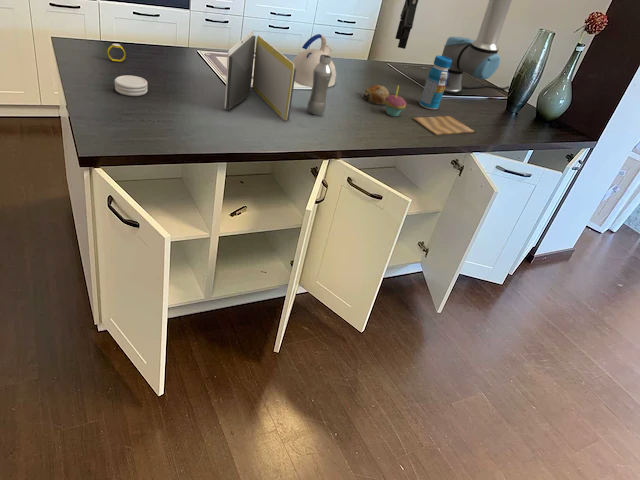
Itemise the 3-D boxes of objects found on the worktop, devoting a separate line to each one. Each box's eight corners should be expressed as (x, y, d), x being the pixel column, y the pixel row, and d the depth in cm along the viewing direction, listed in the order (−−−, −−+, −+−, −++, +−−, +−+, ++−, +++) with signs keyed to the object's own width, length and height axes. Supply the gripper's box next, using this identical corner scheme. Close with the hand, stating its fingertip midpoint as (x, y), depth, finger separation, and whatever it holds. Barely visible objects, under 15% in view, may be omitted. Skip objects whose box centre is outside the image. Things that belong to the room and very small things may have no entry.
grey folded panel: (296, 121, 161) (305, 63, 149) (235, 124, 150) (240, 61, 139) (255, 83, 184) (260, 30, 172) (200, 83, 173) (202, 27, 162)
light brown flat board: (449, 117, 194) (450, 116, 193) (473, 132, 185) (474, 130, 184) (412, 119, 184) (412, 117, 184) (435, 135, 175) (436, 133, 174)
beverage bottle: (417, 106, 198) (432, 57, 186) (420, 100, 204) (435, 53, 193) (436, 112, 196) (453, 63, 185) (439, 106, 203) (455, 58, 191)
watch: (108, 62, 174) (107, 45, 170) (107, 59, 176) (106, 42, 172) (126, 62, 176) (125, 46, 173) (125, 60, 178) (124, 43, 175)
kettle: (344, 82, 205) (353, 39, 195) (318, 91, 190) (327, 44, 179) (305, 67, 212) (312, 25, 202) (278, 75, 197) (284, 29, 186)
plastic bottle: (326, 112, 173) (337, 56, 161) (320, 118, 167) (331, 61, 156) (310, 107, 174) (320, 51, 162) (303, 113, 168) (313, 55, 157)
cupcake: (397, 120, 180) (406, 89, 173) (377, 112, 183) (385, 81, 176) (406, 115, 186) (415, 85, 179) (387, 107, 189) (395, 77, 182)
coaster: (152, 89, 161) (152, 79, 159) (140, 99, 152) (139, 88, 150) (123, 83, 160) (122, 72, 158) (109, 92, 152) (108, 81, 150)
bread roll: (379, 114, 191) (393, 99, 187) (360, 98, 189) (373, 82, 185) (382, 107, 199) (394, 92, 195) (363, 91, 197) (375, 76, 193)
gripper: (403, -27, 174) (388, 33, 186) (410, -18, 153) (392, 49, 166) (423, -23, 174) (407, 37, 186) (432, -13, 154) (413, 54, 166)
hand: (400, 43), depth 176 cm, fingers open, 13 cm apart
